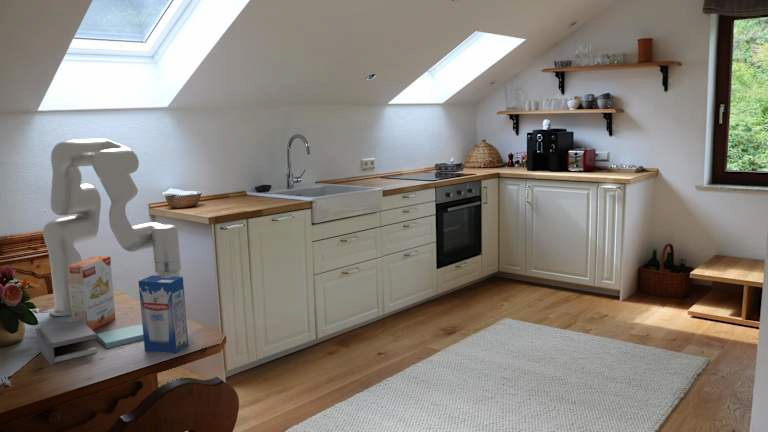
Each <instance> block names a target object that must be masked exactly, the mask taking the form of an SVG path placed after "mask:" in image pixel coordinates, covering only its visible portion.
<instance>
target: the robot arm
mask: <svg viewBox="0 0 768 432" xmlns="http://www.w3.org/2000/svg"><path fill="white" fill-rule="evenodd" d="M51 150H52V151H51V153H50V163H51V169H52V178H51V189H50V208H51V211H52V212H53V214H55V215H56V216H61V217H58V218H55V219H52V220H50V221H48V222H47V223H45V225H44V226H43V229H42V236H43V240H44V242H45V245H46V248H47V252H48V259H49V265H50V266H49V267H50V273H51V281H52V283H51V284H52V292H53V300H54V307H52V308H51V309H50V310H49V311H50V315H52V316H55V317H69V316H70V317H71V307H70V296H69V286H68V275H67V266H68V265H71V264H74V263H77V262H80V261H83V259H82V255H81V254H80V252H79V251H78V249H76V245H79V244H83V243H87V242H90V241H92V240H94V239H95V238H96V237H97V235H98V233H99V228H100V227H99V226H100V218H101V208H102V207H101V206H102V199H101V194H100V192H99V190H98V189H97V187H96V186H94V185H92V184H90V183H82V179H83V178H82V177H83V176H82V172H81V170H80V167H91V166H92V168H93V170H94V173H96V175H97V178H98V179H99V182H100V183H101V185H102V187H103V189H104V190H105V192H106V194H107V196H108V198H109V200H110V207H109V210H108V211H109V212H108V221H109V228H110V231H111V232H112V234H113V235H114V237H115V239H116V241H117V243H118V244H119V246H120V247H121V248H122V249H123V250H124V251H126V252H128V253H129V252H130V253H133V252H138V251H141V250H145V249H150V248H152V251H153V252H152V254H153V261H154V262H153V265H154V272H155V276H175V277H181V276H180V275H181V274H180V271H181V270H182V265H181V264H182V263H181V255H180V254H181V253H180V243H179V242H180V241H179V230H178V227H177V226H176V225H174V224H162V223H159V222H155V221H154V222H153V221H151V222H146V223H140V224H136V225H132V224H131V223H130V221H129V219H128V216H127V213H126V207H127V204H128V203H129V202H131V200H133V199H134V198H135V197H136V196H137V195H138V193H139V189H138V187H137V186H136V183H135V182H134V180H133V178H132V177H131V174H134V173H135V172H136V171H137V170H138V169H139V165H140V162H139V161H140V160H139V157H138V156H137V154H136V152H134V150H132V149H131V148H130V147H127V146H125V145H122V144H120V143H118V142H114V141H113V140H110V139H107V138H82V139H70V140H65V141H64V140H63V141H60V142H58V143H56V144H55V145H54V147H53V148H52V149H51ZM62 216H63V217H62Z"/></svg>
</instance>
